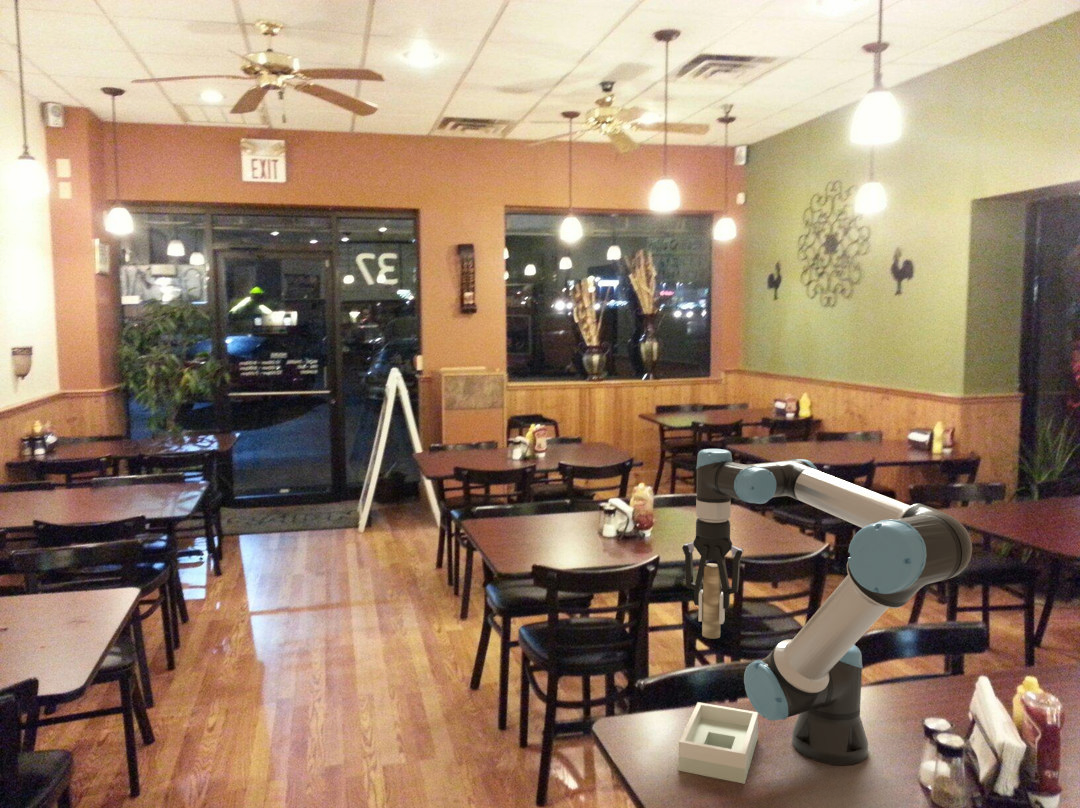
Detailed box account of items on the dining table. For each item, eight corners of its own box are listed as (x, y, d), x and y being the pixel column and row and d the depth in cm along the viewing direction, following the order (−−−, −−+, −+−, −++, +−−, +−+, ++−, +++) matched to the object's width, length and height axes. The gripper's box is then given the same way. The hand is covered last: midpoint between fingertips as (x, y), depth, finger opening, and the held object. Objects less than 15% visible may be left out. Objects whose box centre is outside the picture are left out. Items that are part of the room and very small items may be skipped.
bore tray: (757, 739, 178) (758, 712, 177) (744, 783, 160) (745, 754, 160) (697, 728, 183) (697, 702, 182) (678, 770, 165) (678, 741, 165)
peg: (721, 633, 188) (722, 564, 186) (718, 639, 184) (719, 569, 182) (703, 631, 189) (705, 562, 188) (700, 637, 185) (701, 567, 184)
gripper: (754, 518, 184) (752, 620, 186) (678, 512, 191) (677, 610, 193) (749, 525, 177) (747, 631, 179) (671, 519, 184) (670, 621, 186)
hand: (711, 620), depth 186 cm, fingers closed on peg, 4 cm apart
